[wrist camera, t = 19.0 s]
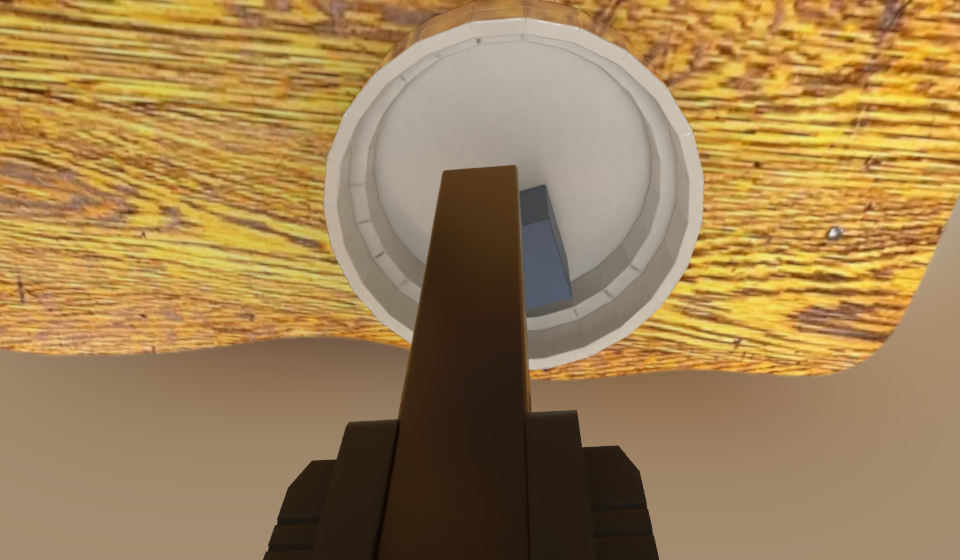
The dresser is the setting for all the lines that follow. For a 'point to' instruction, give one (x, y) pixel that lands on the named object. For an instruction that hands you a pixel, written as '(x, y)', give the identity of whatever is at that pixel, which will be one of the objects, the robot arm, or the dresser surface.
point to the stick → (465, 385)
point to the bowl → (520, 164)
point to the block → (542, 251)
